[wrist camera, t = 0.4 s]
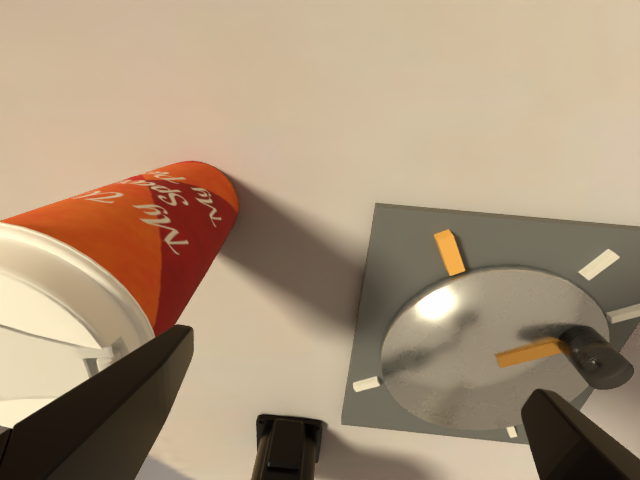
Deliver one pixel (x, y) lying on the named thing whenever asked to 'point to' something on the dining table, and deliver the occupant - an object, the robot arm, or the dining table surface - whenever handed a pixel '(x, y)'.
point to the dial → (496, 346)
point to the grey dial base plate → (469, 252)
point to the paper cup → (102, 276)
